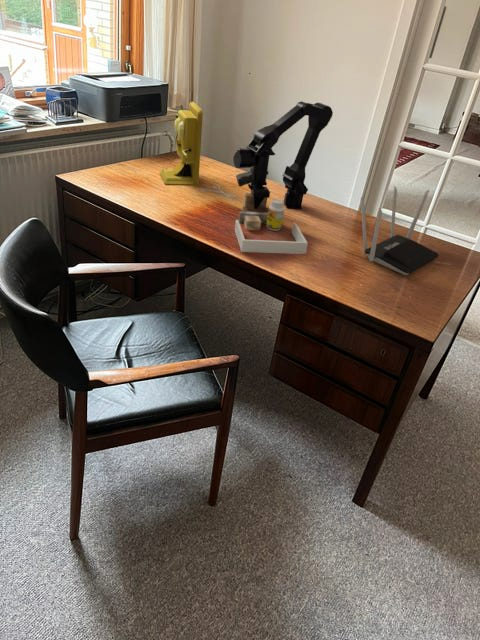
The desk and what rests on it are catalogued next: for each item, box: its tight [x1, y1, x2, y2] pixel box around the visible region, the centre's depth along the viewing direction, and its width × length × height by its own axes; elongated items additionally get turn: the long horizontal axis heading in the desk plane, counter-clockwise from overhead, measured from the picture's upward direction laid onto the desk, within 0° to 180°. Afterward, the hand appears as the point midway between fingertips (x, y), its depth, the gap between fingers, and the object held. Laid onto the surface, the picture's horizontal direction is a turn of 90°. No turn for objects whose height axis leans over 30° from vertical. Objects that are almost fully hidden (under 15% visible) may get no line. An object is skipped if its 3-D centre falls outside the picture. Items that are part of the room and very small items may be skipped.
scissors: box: [196, 184, 242, 202], centre depth 198 cm, size 11×1×20 cm
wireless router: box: [360, 185, 439, 276], centre depth 159 cm, size 34×23×20 cm
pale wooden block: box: [243, 216, 262, 231], centre depth 171 cm, size 5×5×4 cm
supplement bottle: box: [265, 198, 285, 232], centre depth 170 cm, size 6×6×10 cm
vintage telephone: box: [158, 101, 204, 187], centre depth 199 cm, size 31×14×30 cm, turn 17°
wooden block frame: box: [238, 192, 269, 225], centre depth 180 cm, size 16×16×6 cm
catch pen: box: [234, 219, 308, 255], centre depth 162 cm, size 22×17×4 cm
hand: (254, 206), depth 186 cm, fingers closed on wooden block frame, 3 cm apart
